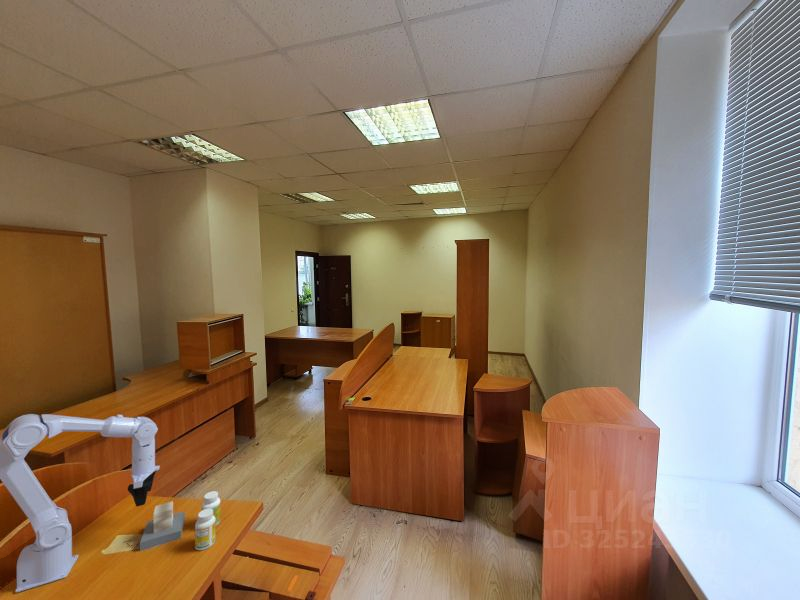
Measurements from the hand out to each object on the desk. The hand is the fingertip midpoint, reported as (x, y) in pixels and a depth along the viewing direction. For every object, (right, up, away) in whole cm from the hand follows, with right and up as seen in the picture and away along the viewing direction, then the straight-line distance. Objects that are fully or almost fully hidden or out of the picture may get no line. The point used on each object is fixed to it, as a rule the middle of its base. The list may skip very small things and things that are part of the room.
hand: (143, 497), depth 100 cm
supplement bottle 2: (+23, -11, -5) cm, 26 cm away
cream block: (+8, -8, -2) cm, 11 cm away
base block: (+8, -11, -1) cm, 13 cm away
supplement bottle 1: (+20, -11, +3) cm, 23 cm away
